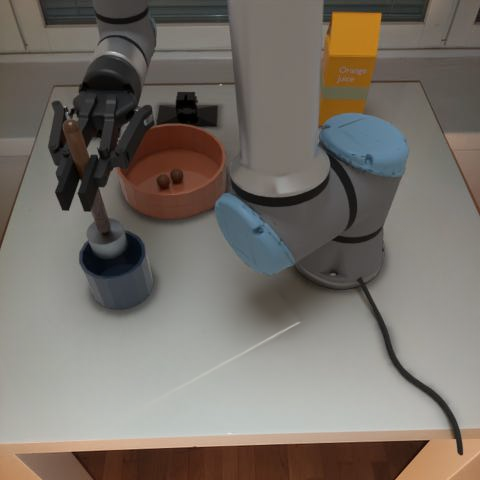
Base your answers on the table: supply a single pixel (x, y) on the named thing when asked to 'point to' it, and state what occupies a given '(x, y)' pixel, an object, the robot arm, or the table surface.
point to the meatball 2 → (176, 175)
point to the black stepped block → (188, 112)
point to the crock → (118, 275)
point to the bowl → (175, 157)
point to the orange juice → (348, 63)
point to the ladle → (95, 202)
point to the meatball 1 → (163, 181)
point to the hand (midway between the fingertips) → (73, 202)
